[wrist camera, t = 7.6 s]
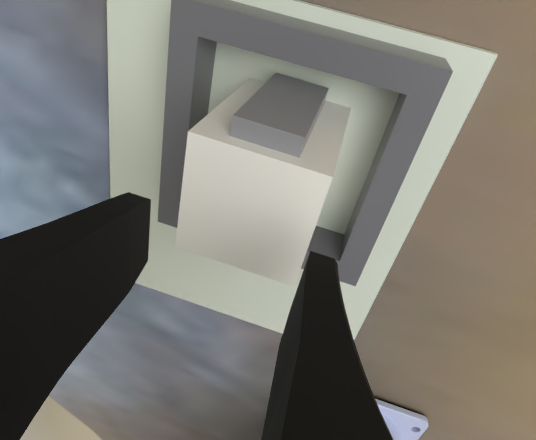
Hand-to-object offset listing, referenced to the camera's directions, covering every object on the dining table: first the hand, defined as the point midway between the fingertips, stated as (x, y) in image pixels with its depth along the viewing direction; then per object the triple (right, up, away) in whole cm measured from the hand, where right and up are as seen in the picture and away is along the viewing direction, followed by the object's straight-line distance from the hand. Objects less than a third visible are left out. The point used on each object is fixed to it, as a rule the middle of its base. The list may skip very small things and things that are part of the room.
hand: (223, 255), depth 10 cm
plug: (+2, +4, +6) cm, 8 cm away
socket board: (+1, +2, +9) cm, 9 cm away
